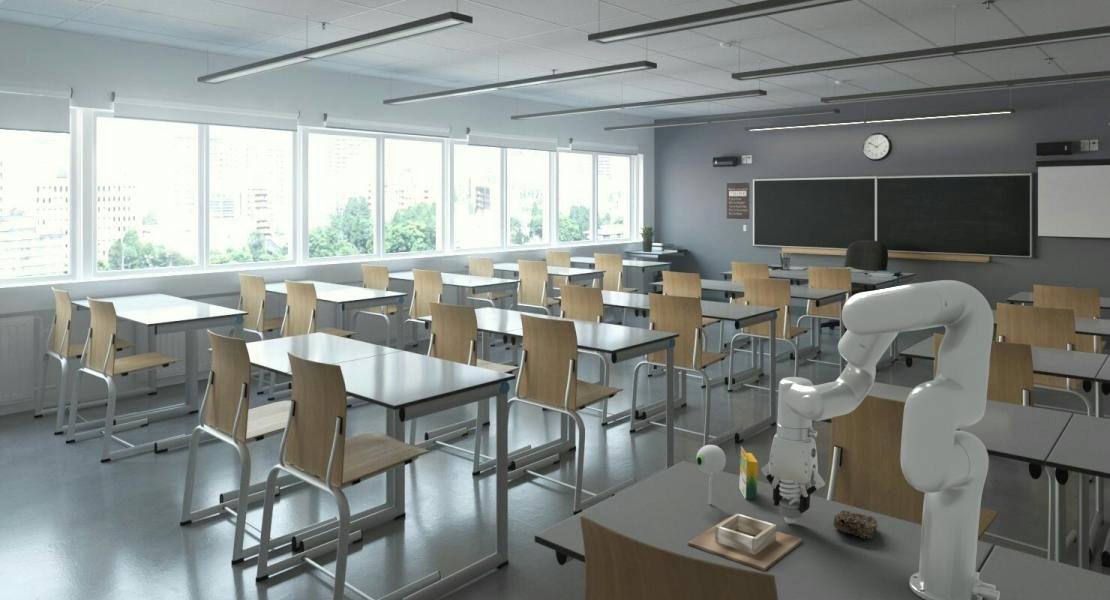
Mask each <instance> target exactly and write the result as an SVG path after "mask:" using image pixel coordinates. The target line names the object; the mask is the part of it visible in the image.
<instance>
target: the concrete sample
mask: <svg viewBox="0 0 1110 600" xmlns="http://www.w3.org/2000/svg"><path fill="white" fill-rule="evenodd" d="M832 525H833V527H834V528H835V529H837V530H839V531H842V532H844V533H846V534H851V535H854V536H856V537H858V536H859V537H860V538H861V539H864V540H866V539H873V538H874V535H876V531H877V528H878V525H879V524H878V521H877V520H876V518H874V517H873V516H872V515H867V514H862V513H859V512H851V511H850V510H846V509H844V510H841V511H839V513H837V514H835V515H834V518H833V524H832Z"/></svg>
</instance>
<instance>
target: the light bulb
mask: <svg viewBox="0 0 1110 600" xmlns="http://www.w3.org/2000/svg"><path fill="white" fill-rule="evenodd" d="M780 481H782V482H780V483H779V485H780V487H779V490H780V495H781V496H783V499H781V500H780V501H779V505H778V511H779V514H780V516H782V517H784V521H785V523H787V524H789V525H792V524H794V523H796V522H797V519H799V518H801V517H802V515H803V513H800V512H799V508H800V496H801V495H802V491H801V487H800V484H799V483H795V482H794V481H793V480H787V479H780Z"/></svg>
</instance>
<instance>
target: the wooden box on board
mask: <svg viewBox="0 0 1110 600" xmlns="http://www.w3.org/2000/svg"><path fill="white" fill-rule="evenodd" d="M802 542H803V538H800V537H798V536H794V535H791V534H788V533H783V532H781V531H777V524H774V523H772V522H768V521H764V520H760V519H758V518H754V517H751V516H747V515H744V514H740V513H738V512H737V513H735V514H734V515H732V516H728V517H726V518H725V519H723V520H721V521H720V522H719V523H716V525H714V526H712V527H710V528H709V529H707V530H705V531H704V532H703V533H701V534H699V535H697V536H695V537H694V538H693V539H691V540H690V541H688V543H687V545H688V546H691V547H692V548H696V549H699V550H701V551H704V552H708V553H710V554H714V555H717V556H720V557H723V558H726V559H728V560H731V559H732V561H734V562H737V563H740V564H743V565H746V566H749V567H752V568H755V569H757V570H760V571H763V572H765V571H766V570H768V569H769V568H770V567H772V566H773V565H774V564H775V563H777V562H778V561H779V560H781V559H782V558H784V556H786V555H787V554H789V552H791V551H792V550H793V549H795V548H796V547H797V546H799V545H800V544H801V543H802Z"/></svg>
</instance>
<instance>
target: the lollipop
mask: <svg viewBox="0 0 1110 600" xmlns="http://www.w3.org/2000/svg"><path fill="white" fill-rule="evenodd" d="M726 457H727V456H726V454H725V452H724V451H723V449H722V448H721V447H719V446H718V445H715V444H707V445H704V446H702V447H700V449H699V450H698V451H697V454H696V458H695V461H696V464H697V467H698V468H699V470H701V472H703V473H704V474H707V475H709V476H708V478H709V479H708V505H712V497H713V496H712V495H713V494H712V492H713V491H712V490H713V485H712V484H713V475H717V474H718V473H721V472H722V471H723V469H724V468H725V467H726V464H727V463H726V462H727V458H726Z"/></svg>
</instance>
